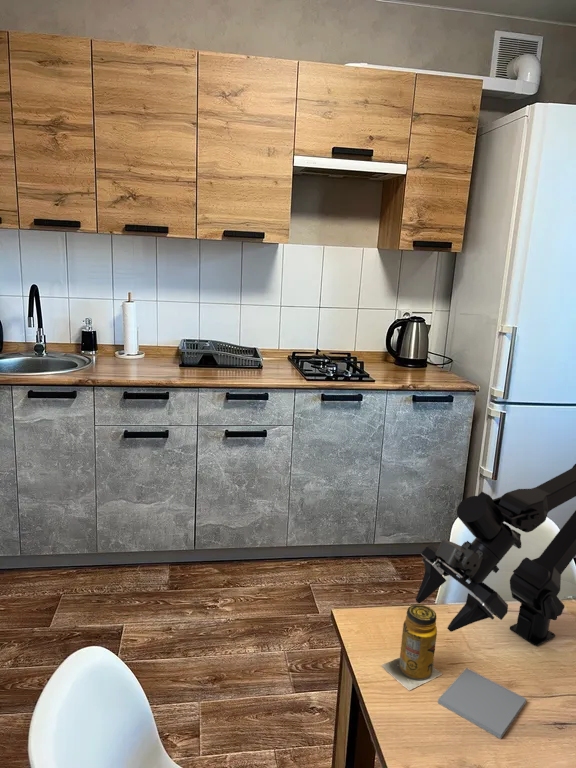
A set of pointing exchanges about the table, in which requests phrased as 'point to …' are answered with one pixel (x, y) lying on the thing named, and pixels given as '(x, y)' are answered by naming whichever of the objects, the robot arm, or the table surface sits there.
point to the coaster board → (482, 702)
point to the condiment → (416, 649)
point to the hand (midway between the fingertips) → (432, 615)
